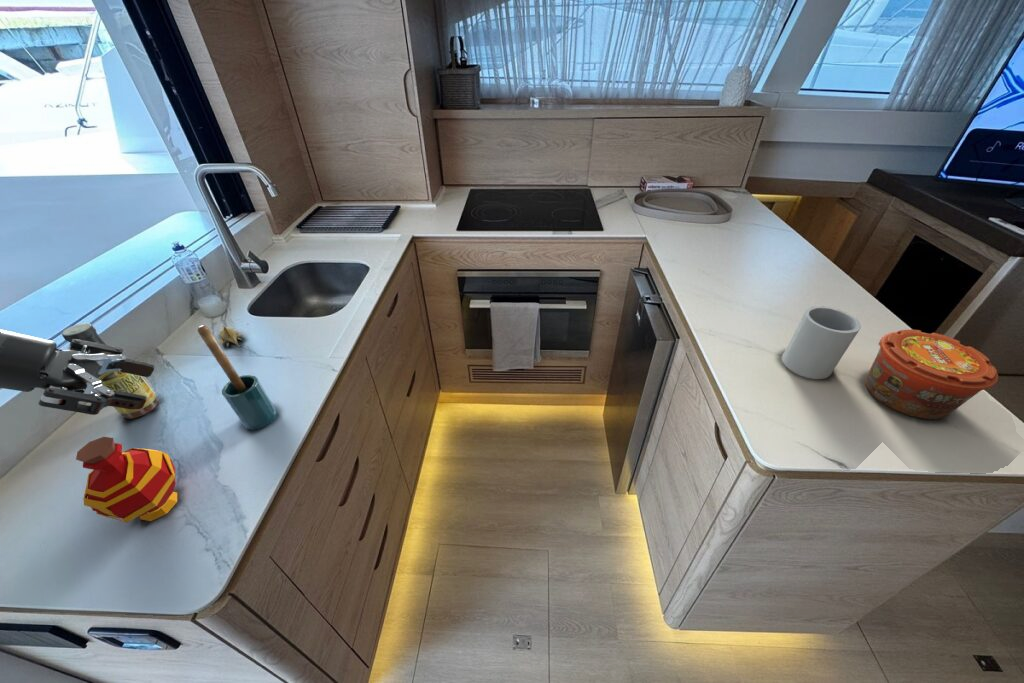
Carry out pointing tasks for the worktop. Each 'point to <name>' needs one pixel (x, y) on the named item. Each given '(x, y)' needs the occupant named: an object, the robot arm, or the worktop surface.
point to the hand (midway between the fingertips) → (148, 386)
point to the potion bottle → (127, 481)
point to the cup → (820, 342)
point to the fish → (229, 336)
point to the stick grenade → (222, 359)
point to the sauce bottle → (115, 373)
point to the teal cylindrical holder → (250, 403)
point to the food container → (927, 374)
